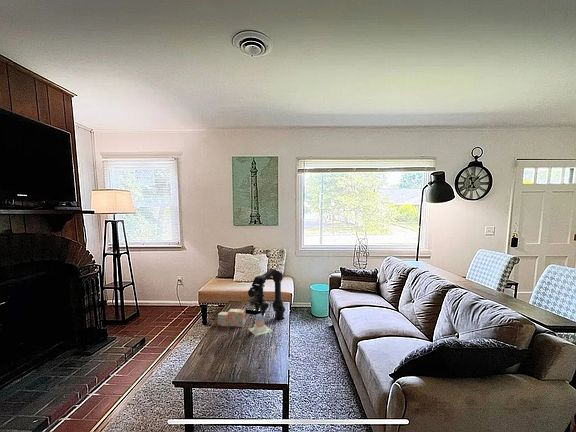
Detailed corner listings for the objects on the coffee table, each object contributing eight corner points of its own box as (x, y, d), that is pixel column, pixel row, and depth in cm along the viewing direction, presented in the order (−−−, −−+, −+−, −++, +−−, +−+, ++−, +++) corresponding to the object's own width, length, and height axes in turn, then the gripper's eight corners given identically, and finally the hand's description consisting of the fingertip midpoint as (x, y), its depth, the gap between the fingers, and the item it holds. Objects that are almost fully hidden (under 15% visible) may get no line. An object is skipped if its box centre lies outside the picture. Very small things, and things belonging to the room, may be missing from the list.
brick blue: (261, 318, 212) (261, 313, 212) (264, 320, 208) (264, 315, 208) (255, 319, 210) (255, 314, 210) (258, 322, 206) (258, 316, 205)
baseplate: (264, 325, 219) (264, 324, 219) (272, 331, 207) (272, 330, 207) (247, 329, 211) (247, 328, 211) (255, 336, 200) (255, 335, 199)
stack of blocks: (217, 325, 219) (217, 310, 219) (221, 322, 225) (220, 307, 225) (242, 327, 215) (242, 312, 215) (245, 324, 221) (245, 309, 221)
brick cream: (262, 327, 214) (262, 322, 214) (266, 330, 208) (266, 325, 208) (254, 329, 210) (253, 324, 210) (257, 332, 204) (257, 328, 204)
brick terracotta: (261, 323, 213) (261, 318, 212) (264, 325, 208) (264, 320, 208) (255, 324, 210) (255, 319, 210) (258, 327, 206) (258, 322, 206)
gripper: (244, 292, 212) (245, 312, 212) (255, 298, 196) (255, 320, 197) (257, 289, 218) (258, 309, 218) (268, 296, 202) (269, 316, 202)
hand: (259, 313), depth 209 cm, fingers open, 9 cm apart
